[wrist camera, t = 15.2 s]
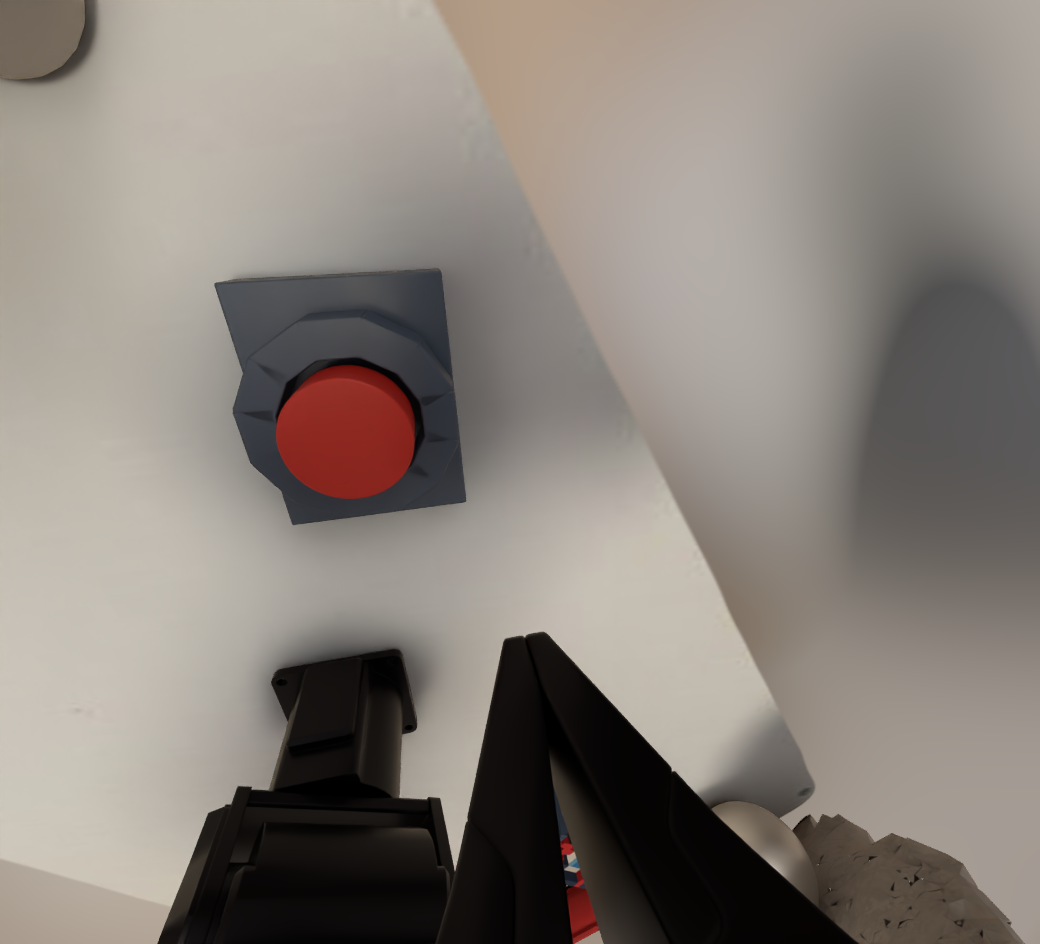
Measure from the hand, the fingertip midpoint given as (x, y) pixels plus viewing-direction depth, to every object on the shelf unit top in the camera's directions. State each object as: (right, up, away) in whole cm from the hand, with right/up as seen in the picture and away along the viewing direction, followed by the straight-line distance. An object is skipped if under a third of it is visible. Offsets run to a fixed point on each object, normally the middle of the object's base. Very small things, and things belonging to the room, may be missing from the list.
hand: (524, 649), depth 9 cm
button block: (-6, +7, +9) cm, 13 cm away
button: (-6, +5, +6) cm, 10 cm away
